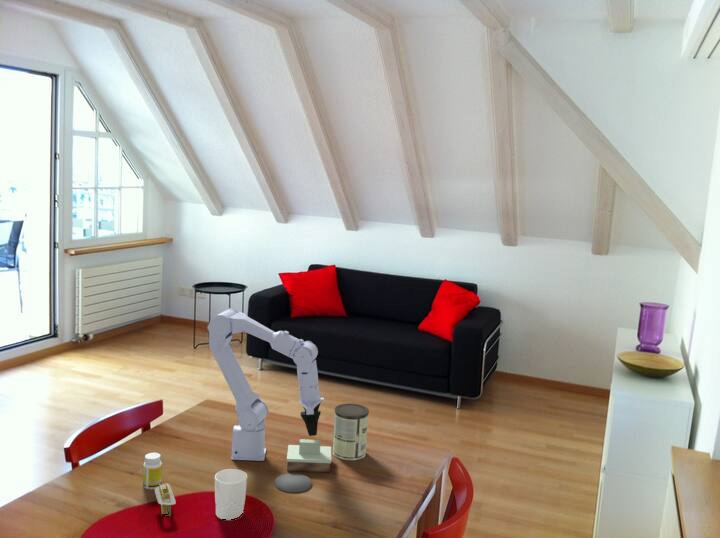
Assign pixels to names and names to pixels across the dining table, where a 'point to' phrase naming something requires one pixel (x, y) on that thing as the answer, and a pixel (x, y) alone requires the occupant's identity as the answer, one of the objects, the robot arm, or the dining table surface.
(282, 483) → the stone
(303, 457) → the lid
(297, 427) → the dining table surface
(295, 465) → the box
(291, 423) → the dining table surface
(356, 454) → the coffee can
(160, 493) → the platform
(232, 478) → the white cup
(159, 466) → the supplement bottle
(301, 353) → the robot arm
